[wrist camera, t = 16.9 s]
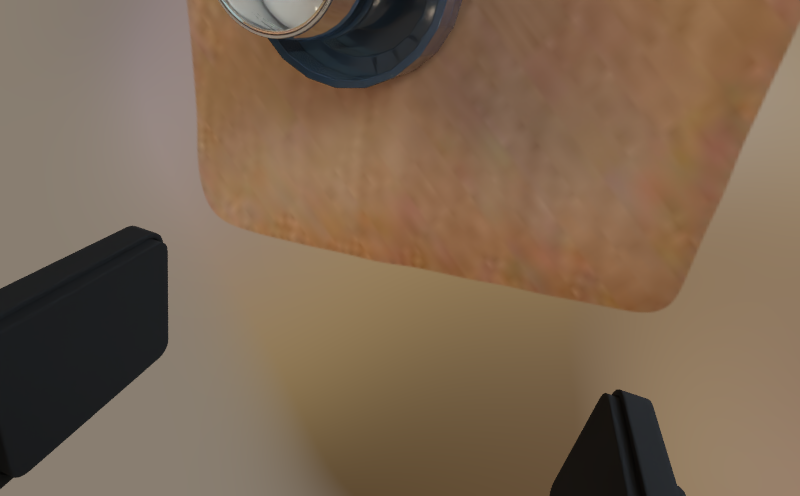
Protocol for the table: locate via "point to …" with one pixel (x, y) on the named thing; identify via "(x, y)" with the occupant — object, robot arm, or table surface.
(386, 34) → the dark blue bowl
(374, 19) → the silver metal tumbler
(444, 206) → the table surface
